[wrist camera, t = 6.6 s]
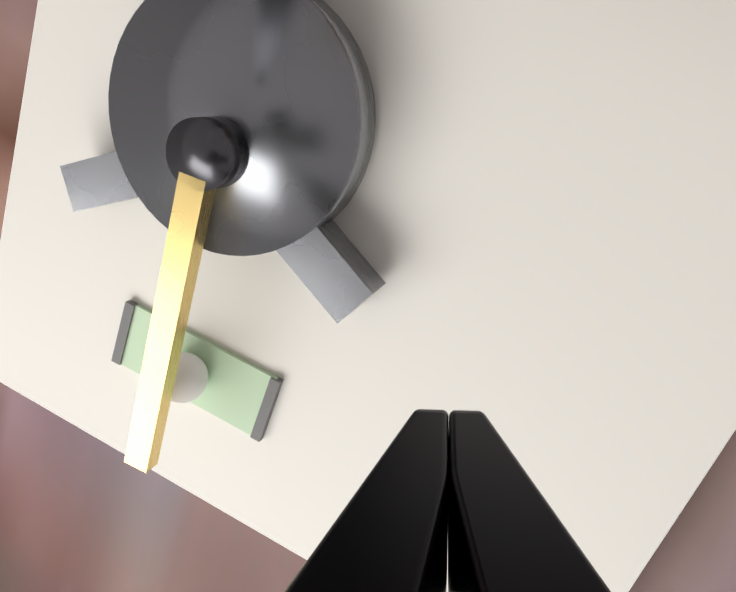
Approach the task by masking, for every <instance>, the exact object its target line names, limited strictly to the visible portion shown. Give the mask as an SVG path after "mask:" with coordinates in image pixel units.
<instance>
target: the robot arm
mask: <svg viewBox="0 0 736 592" xmlns="http://www.w3.org/2000/svg"><path fill="white" fill-rule="evenodd" d="M447 555H448V592H611V591H610V590H609V588H608V587H607V585H606V584H605V583H604V581H603V580H602V578H601V577H600V576H599V574H598V573H597V571H596V570H595V569H594V567H593V566H592V564H591V563H590V561H589V560H588V559H587V557H586V556H585V554H584V553H583V552H582V550H581V549H580V547H579V546H578V545H577V543H576V542H575V540H574V539H573V538H572V536H571V535H570V533H569V532H568V531H567V529H566V528H565V526H564V525H563V523H562V522H561V521H560V519H559V518H558V516H557V515H556V514H555V512H554V511H553V509H552V508H551V507H550V505H549V504H548V502H547V501H546V500H545V498H544V497H543V495H542V494H541V493H540V491H539V490H538V488H537V487H536V485H535V484H534V483H533V481H532V480H531V478H530V477H529V476H528V474H527V473H526V471H525V470H524V469H523V467H522V466H521V464H520V463H519V462H518V460H517V459H516V457H515V456H514V455H513V453H512V452H511V450H510V449H509V447H508V446H507V445H506V443H505V442H504V440H503V439H502V438H501V436H500V435H499V433H498V432H497V431H496V429H495V428H494V426H493V425H492V424H491V422H490V421H489V419H488V418H487V417H486V415H485V414H484V413H483V412H481V411H474V410H453V411H451V412H450V414H449V416H448V413H447V411H445V410H436V409H417V410H415V411H414V412H413V413H412V415H411V416H410V417H409V419H408V420H407V422H406V423H405V424H404V426H403V427H402V429H401V430H400V431H399V433H398V434H397V435H396V437H395V438H394V440H393V441H392V442H391V444H390V445H389V447H388V448H387V449H386V451H385V452H384V454H383V455H382V456H381V458H380V459H379V461H378V462H377V463H376V465H375V466H374V468H373V469H372V470H371V472H370V473H369V475H368V476H367V477H366V479H365V480H364V482H363V483H362V484H361V486H360V487H359V489H358V490H357V491H356V493H355V494H354V496H353V497H352V498H351V500H350V501H349V503H348V504H347V505H346V507H345V508H344V510H343V511H342V512H341V514H340V515H339V516H338V518H337V519H336V521H335V522H334V523H333V525H332V526H331V528H330V529H329V530H328V532H327V533H326V535H325V536H324V537H323V539H322V540H321V542H320V543H319V544H318V546H317V547H316V549H315V550H314V551H313V553H312V554H311V556H310V557H309V558H308V560H307V561H306V563H305V564H304V565H303V567H302V568H301V570H300V571H299V572H298V574H297V575H296V577H295V578H294V579H293V581H292V582H291V584H290V585H289V586H288V588H287V589H286V591H285V592H446V591H447Z"/></svg>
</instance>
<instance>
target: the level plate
mask: <svg viewBox="0 0 736 592" xmlns="http://www.w3.org/2000/svg"><path fill="white" fill-rule="evenodd" d="M323 1H324V2H326V3H327V4H328V5H329V6H330V7H331V8H332V9H333V10H334V11H335V12H336V13H337V15H338V16H339V17H340V18H341V19H342V21H343V22H344V23H345V25H346V26H347V27H348V29H349V30H350V31H351V33H352V35H353V37H354V38H355V40H356V42H357V44H358V45H359V47H360V49H361V52H362V54H363V57H364V59H365V62H366V64H367V67H368V70H369V74H370V78H371V81H372V85H373V92H374V99H375V113H376V126H375V136H374V144H373V148H372V153H371V157H370V161H369V164H368V166H367V169H366V172H365V175H364V177H363V179H362V181H361V183H360V185H359V187H358V189H357V191H356V193H355V194H354V195H353V197H352V198H351V200H350V201H349V203H348V204H347V206H346V207H345V208H344V209H343V210H342V211H341V212H340V213H339V214H338V215H337V216H336V218H334V219H333V221H334V222H335V223H336V224H337V225H338V227H339V228H340V229H341V230H342V231H343V233H344V234H345V235H346V236H347V237H348V238H349V240H350V241H351V242H352V243H353V244H354V246H355V247H356V248H357V249H358V250H359V252H360V253H361V254H362V255H363V256H364V258H365V259H366V260H367V261H368V262H369V264H370V265H371V266H372V267H373V268H374V269H375V271H376V272H377V273H378V274H379V275H380V277H381V278H382V279H383V280H384V281H385V283H386V284H385V285H383V286H382V287H381V288H380V289H379V290H378V291H376V292H375V293H374V294H373V295H372V296H370V297H369V298H368V299H367V300H366V301H365V302H363V303H362V304H361V305H360V306H359V307H358V308H356V309H355V310H354V311H353V312H352V313H350V314H349V315H348V316H346V317H345V318H344V319H343V320H341V321H340V322H339V323H338V324H337V323H336V322H335V320H334V319H333V318H332V317H331V316H330V314H329V313H328V312H327V311H326V310H325V308H324V307H323V306H322V305H321V304H320V303H319V301H318V300H317V299H316V298H315V297H314V295H313V294H312V293H311V292H310V291H309V289H308V288H307V287H306V286H305V285H304V283H303V282H302V281H301V280H300V279H299V277H298V276H297V275H296V274H295V273H294V271H293V270H292V269H291V268H290V267H289V265H288V264H287V263H286V262H285V261H284V259H283V258H282V257H281V256H280V255H279V253H278V252H277V251H276V250H275V251H272V252H268V253H264V254H260V255H251V256H231V255H224V254H219V253H214V252H211V251H208V250H205V249H203V251H202V256H201V261H200V265H199V270H198V275H197V280H196V284H195V289H194V294H193V299H192V303H191V308H190V313H189V317H188V322H187V327H186V332H185V336H184V341H183V346H182V351H181V355H180V360H179V365H178V369H177V374H176V379H175V384H174V388H173V393H172V398H171V402H170V407H169V412H168V417H167V421H166V426H165V431H164V436H163V440H162V445H161V450H160V454H159V459H158V464H157V465H155V466H154V467H153V468H152V469H151V470H153V471H154V472H156V473H158V474H160V475H161V476H163V477H165V478H166V479H168V480H170V481H172V482H173V483H175V484H177V485H179V486H180V487H182V488H184V489H185V490H187V491H189V492H191V493H192V494H194V495H196V496H197V497H199V498H201V499H203V500H204V501H206V502H208V503H210V504H211V505H213V506H215V507H216V508H218V509H220V510H222V511H223V512H225V513H227V514H229V515H230V516H232V517H234V518H235V519H237V520H239V521H241V522H242V523H244V524H246V525H247V526H249V527H251V528H253V529H254V530H256V531H258V532H260V533H261V534H263V535H265V536H266V537H268V538H270V539H272V540H273V541H275V542H277V543H278V544H280V545H282V546H284V547H285V548H287V549H289V550H291V551H292V552H294V553H296V554H297V555H299V556H301V557H303V558H304V559H306V560H308V558H309V557H310V556H311V554H312V553H313V551H314V550H315V549H316V547H317V546H318V544H319V543H320V542H321V540H322V539H323V537H324V536H325V535H326V533H327V532H328V530H329V529H330V528H331V526H332V525H333V523H334V522H335V521H336V519H337V518H338V516H339V515H340V514H341V512H342V511H343V510H344V508H345V507H346V505H347V504H348V503H349V501H350V500H351V498H352V497H353V496H354V494H355V493H356V491H357V490H358V489H359V487H360V486H361V484H362V483H363V482H364V480H365V479H366V477H367V476H368V475H369V473H370V472H371V470H372V469H373V468H374V466H375V465H376V463H377V462H378V461H379V459H380V458H381V456H382V455H383V454H384V452H385V451H386V449H387V448H388V447H389V445H390V444H391V442H392V441H393V440H394V438H395V437H396V435H397V434H398V433H399V431H400V430H401V429H402V427H403V426H404V424H405V423H406V422H407V420H408V419H409V417H410V416H411V415H412V413H413V412H414V411H415V410H417V409H436V410H445V411H447V413H448V416H449V414H450V412H451V411H453V410H474V411H481V412H483V413H484V414H485V415H486V417H487V418H488V419H489V421H490V422H491V424H492V425H493V426H494V428H495V429H496V431H497V432H498V433H499V435H500V436H501V438H502V439H503V440H504V442H505V443H506V445H507V446H508V447H509V449H510V450H511V452H512V453H513V455H514V456H515V457H516V459H517V460H518V462H519V463H520V464H521V466H522V467H523V469H524V470H525V471H526V473H527V474H528V476H529V477H530V478H531V480H532V481H533V483H534V484H535V485H536V487H537V488H538V490H539V491H540V493H541V494H542V495H543V497H544V498H545V500H546V501H547V502H548V504H549V505H550V507H551V508H552V509H553V511H554V512H555V514H556V515H557V516H558V518H559V519H560V521H561V522H562V523H563V525H564V526H565V528H566V529H567V531H568V532H569V533H570V535H571V536H572V538H573V539H574V540H575V542H576V543H577V545H578V546H579V547H580V549H581V550H582V552H583V553H584V554H585V556H586V557H587V559H588V560H589V561H590V563H591V564H592V566H593V567H594V569H595V570H596V571H597V573H598V574H599V576H600V577H601V578H602V580H603V581H604V583H605V584H606V585H607V587H608V588H609V590H610V591H611V592H629V590H630V589H631V587H632V586H633V584H634V583H635V581H636V580H637V578H638V577H639V575H640V574H641V572H642V570H643V569H644V567H645V566H646V564H647V563H648V561H649V560H650V558H651V557H652V555H653V554H654V552H655V551H656V549H657V548H658V546H659V545H660V543H661V542H662V540H663V539H664V537H665V536H666V534H667V533H668V531H669V530H670V528H671V527H672V525H673V524H674V522H675V521H676V519H677V518H678V516H679V514H680V513H681V511H682V510H683V508H684V507H685V505H686V504H687V502H688V501H689V499H690V498H691V496H692V495H693V493H694V492H695V490H696V489H697V487H698V486H699V484H700V483H701V481H702V480H703V478H704V477H705V475H706V474H707V472H708V471H709V469H710V468H711V466H712V465H713V463H714V462H715V460H716V458H717V457H718V455H719V454H720V452H721V451H722V449H723V448H724V446H725V445H726V443H727V442H728V440H729V439H730V437H731V436H732V434H733V433H734V431H735V430H736V0H323ZM143 2H144V0H38V4H37V11H36V17H35V23H34V30H33V36H32V42H31V49H30V55H29V62H28V68H27V74H26V81H25V87H24V93H23V100H22V106H21V112H20V119H19V125H18V132H17V138H16V144H15V151H14V157H13V163H12V170H11V176H10V183H9V189H8V195H7V202H6V208H5V214H4V221H3V227H2V233H1V240H0V382H1V383H3V384H5V385H6V386H8V387H10V388H11V389H13V390H15V391H17V392H18V393H20V394H22V395H23V396H25V397H27V398H29V399H30V400H32V401H34V402H36V403H37V404H39V405H41V406H42V407H44V408H46V409H48V410H49V411H51V412H53V413H54V414H56V415H58V416H60V417H61V418H63V419H65V420H67V421H68V422H70V423H72V424H73V425H75V426H77V427H79V428H80V429H82V430H84V431H86V432H87V433H89V434H91V435H92V436H94V437H96V438H98V439H99V440H101V441H103V442H104V443H106V444H108V445H110V446H111V447H113V448H115V449H117V450H118V451H120V452H122V453H123V454H125V453H126V448H127V443H128V437H129V432H130V427H131V422H132V416H133V411H134V406H135V401H136V395H137V390H138V385H139V380H140V374H141V369H142V364H143V359H144V353H145V348H146V343H147V338H148V332H149V327H150V322H151V317H152V311H153V306H154V301H155V296H156V290H157V285H158V280H159V275H160V269H161V264H162V259H163V253H164V248H165V243H166V238H167V232H168V229H167V228H166V227H165V226H164V225H163V224H161V223H160V222H159V221H158V220H157V219H156V218H155V217H154V216H153V215H152V214H151V212H150V211H149V210H148V209H147V208H146V207H145V205H144V204H143V203H142V201H141V200H140V199H139V198H134V199H130V200H126V201H121V202H117V203H112V204H108V205H103V206H99V207H94V208H89V209H84V210H79V211H75V212H73V208H72V205H71V202H70V198H69V195H68V192H67V188H66V185H65V182H64V178H63V175H62V172H61V168H60V166H62V165H66V164H69V163H73V162H77V161H81V160H85V159H89V158H93V157H97V156H100V155H104V154H108V153H112V152H116V149H115V146H114V142H113V137H112V133H111V127H110V119H109V103H108V92H109V81H110V73H111V68H112V64H113V59H114V55H115V52H116V49H117V46H118V43H119V41H120V38H121V36H122V34H123V32H124V30H125V28H126V26H127V24H128V22H129V21H130V19H131V18H132V16H133V14H134V13H135V11H136V10H137V9H138V8H139V6H140V5H141V4H142V3H143ZM446 592H448V555H447V591H446Z"/></svg>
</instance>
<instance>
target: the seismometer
mask: <svg viewBox="0 0 736 592" xmlns="http://www.w3.org/2000/svg"><path fill="white" fill-rule="evenodd" d="M108 103H109V119H110V127H111V133H112V137H113V142H114V146H115V149H116V152H112V153H108V154H104V155H100V156H97V157H93V158H89V159H85V160H81V161H77V162H73V163H69V164H66V165H62V166H60V168H61V172H62V175H63V178H64V182H65V185H66V188H67V192H68V195H69V198H70V202H71V205H72V208H73V212H75V211H79V210H84V209H89V208H94V207H99V206H103V205H108V204H112V203H117V202H121V201H126V200H130V199H134V198H139V199H140V200H141V201H142V203H143V204H144V205H145V207H146V208H147V209H148V210H149V211H150V212H151V214H152V215H153V216H154V217H155V218H156V219H157V220H158V221H159V222H160V223H161V224H163V225H164V226H165V227H166V228H167V229H168V232H167V238H166V243H165V248H164V253H163V259H162V264H161V269H160V275H159V280H158V285H157V290H156V296H155V301H154V306H153V311H152V317H151V322H150V327H149V332H148V338H147V343H146V348H145V353H144V359H143V364H142V369H141V374H140V380H139V385H138V390H137V395H136V401H135V406H134V411H133V416H132V422H131V427H130V432H129V437H128V443H127V448H126V453H125V458H124V462H126V463H128V464H129V465H131V466H133V467H135V468H137V469H139V470H141V471H143V472H145V473H147V472H148V471H149V470H150V469H152V468H153V467H154V466H155V465H157V464H158V459H159V454H160V450H161V445H162V440H163V436H164V431H165V426H166V421H167V417H168V412H169V407H170V402H171V398H172V393H173V388H174V384H175V379H176V374H177V369H178V365H179V360H180V355H181V351H182V346H183V341H184V336H185V332H186V327H187V322H188V317H189V313H190V308H191V303H192V299H193V294H194V289H195V284H196V280H197V275H198V270H199V265H200V261H201V256H202V251H203V249H205V250H208V251H211V252H214V253H219V254H224V255H231V256H251V255H260V254H264V253H268V252H272V251H275V250H276V251H277V252H278V253H279V255H280V256H281V257H282V258H283V259H284V261H285V262H286V263H287V264H288V265H289V267H290V268H291V269H292V270H293V271H294V273H295V274H296V275H297V276H298V277H299V279H300V280H301V281H302V282H303V283H304V285H305V286H306V287H307V288H308V289H309V291H310V292H311V293H312V294H313V295H314V297H315V298H316V299H317V300H318V301H319V303H320V304H321V305H322V306H323V307H324V308H325V310H326V311H327V312H328V313H329V314H330V316H331V317H332V318H333V319H334V320H335V322H336V323H337V324H338V323H339V322H340V321H341V320H343V319H344V318H345V317H346V316H348V315H349V314H350V313H352V312H353V311H354V310H355V309H356V308H358V307H359V306H360V305H361V304H362V303H363V302H365V301H366V300H367V299H368V298H369V297H370V296H372V295H373V294H374V293H375V292H376V291H378V290H379V289H380V288H381V287H382V286H383V285H385V284H386V283H385V281H384V280H383V279H382V278H381V277H380V275H379V274H378V273H377V272H376V271H375V269H374V268H373V267H372V266H371V265H370V264H369V262H368V261H367V260H366V259H365V258H364V256H363V255H362V254H361V253H360V252H359V250H358V249H357V248H356V247H355V246H354V244H353V243H352V242H351V241H350V240H349V238H348V237H347V236H346V235H345V234H344V233H343V231H342V230H341V229H340V228H339V227H338V225H337V224H336V223H335V222H334V221H333V219H334V218H336V216H337V215H338V214H339V213H340V212H341V211H342V210H343V209H344V208H345V207H346V206H347V204H348V203H349V201H350V200H351V198H352V197H353V195H354V194H355V193H356V191H357V189H358V187H359V185H360V183H361V181H362V179H363V177H364V175H365V172H366V169H367V166H368V164H369V161H370V157H371V153H372V148H373V144H374V136H375V126H376V113H375V99H374V92H373V85H372V81H371V78H370V74H369V70H368V67H367V64H366V62H365V59H364V57H363V54H362V52H361V49H360V47H359V45H358V44H357V42H356V40H355V38H354V37H353V35H352V33H351V31H350V30H349V29H348V27H347V26H346V25H345V23H344V22H343V21H342V19H341V18H340V17H339V16H338V15H337V13H336V12H335V11H334V10H333V9H332V8H331V7H330V6H329V5H328V4H327V3H326V2H324V1H323V0H144V2H143V3H142V4H141V5H140V6H139V8H138V9H137V10H136V11H135V13H134V14H133V16H132V18H131V19H130V21H129V22H128V24H127V26H126V28H125V30H124V32H123V34H122V36H121V38H120V41H119V43H118V46H117V49H116V52H115V55H114V59H113V64H112V68H111V73H110V81H109V92H108Z"/></svg>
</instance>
